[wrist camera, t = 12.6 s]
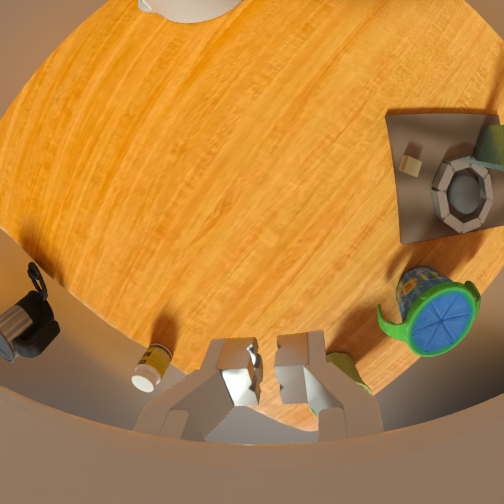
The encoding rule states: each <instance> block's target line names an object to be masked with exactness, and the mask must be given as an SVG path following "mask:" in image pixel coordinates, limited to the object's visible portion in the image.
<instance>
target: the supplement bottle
mask: <svg viewBox="0 0 504 504" xmlns="http://www.w3.org/2000/svg"><path fill="white" fill-rule="evenodd" d="M171 360H172V354H171V352H170V350H169V349H168V348H167V347H165V346H163V345H161V344H158V343H154V344H151V345H150V346H149V347H148V349H147V351H146V352H145V354H144V355H143V357H142V358H141V360H140V362H139V363H138V365H137V367H136V369H135V373H134V375H133V377H132V382H133V384H134V385H135V386H136V387H137V388H138V389H140V390H142V391H145V392H151V391H153V389H154V388H155V386H156V384H158V383H159V382H160V381H161V379H162V377H163V375H164V373H165V371H166V369H167V367H168V366H169V364H170V362H171Z"/></svg>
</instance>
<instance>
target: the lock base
mask: <svg viewBox="0 0 504 504" xmlns="http://www.w3.org/2000/svg"><path fill="white" fill-rule="evenodd" d="M385 119H386V124H387V130H388V135H389V141H390V147H391V153H392V159H393V166H394V174H395V182H396V191H397V201H398V213H399V227H400V242H401V243H402V244H408V243H414V242H419V241H425V240H430V239H436V238H441V237H446V236H452V235H457V234H462V233H459V232H457V231H455V230H454V229H453V228H451V227H450V226H448V225H447V224H446V223H444V222H443V221H441V220H440V219H438V216H436V212H435V206H434V201H433V196H432V192H431V190H432V189H435V188H433V187H432V184H433V182H434V180H435V177H436V175H437V173H438V171H439V168H440V166H441V164H442V163H445V162H444V161H445V160H448V159H451V158H455V157H458V156H461V155H467V156H472V155H473V153H474V150H475V147H476V144H477V142H478V139H479V136H480V133H481V130H482V127H483V125H500V121H499V115H484V114H458V113H430V114H402V115H387V116H385ZM485 168H486V169H487V170H488V174H490V178H491V185H492V191H493V199H492V200H491V201H492V202H493V203H492V206H491V208H490V210H489V212H488V215H487V217H486V219H485V221H484V223H483V224H482V223H481V226H480V227H478V228H476V229H473V230H471V231H468V232H472V231H478V230H483V229H488V228H493V227H498V226H503V225H504V171H501V170H496V169H492V168H487V167H485ZM446 196H447V201H448V207H449V213H450V214H451V215H453V216H454V217H455V218H457V219H458V220H459V219H462V218H465V217H467V216H470V215H472V214H473V212H474V210H475V209H476V208H477V206H478V204H479V201H480V188H479V184H478V179H477V176H476V175H475V174H474V173H472V172H471V171H470V170H469V169H468V168H465V169H461V170H458V171H455V172H454V174H453V176H452V179H451V181H450V183H449V185H448V188H447V190H446ZM466 233H467V232H466Z"/></svg>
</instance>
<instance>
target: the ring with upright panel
mask: <svg viewBox="0 0 504 504" xmlns="http://www.w3.org/2000/svg"><path fill="white" fill-rule="evenodd" d="M444 162H445V163H442V164H441V166H440V168H439V171H438V173H437V175H436V177H435V180H434V182H433V184H432V187H433V188H435V189H432V190H431V192H432V196H433V201H434V206H435V212H436V216H438V219H440V220H441V221H443V222H444V223H446V224H447V225H448V226H450V227H451V228H453V229H454V230H455V231H457V232H459V233H462V234H463V233H466V232H468V231H471V230H473V229H476V228H478V227H480V226H481V223H482V224H483V223H484V221H485V219H486V217H487V215H488V212H489V210H490V208H491V206H492V203H493V202H492V201H491V200H492V199H493V191H492V185H491V178H490V174H488V170H487V169H486V168H485V167H487V168H492V169H496V170H501V171H504V125H483V127H482V130H481V133H480V136H479V139H478V142H477V144H476V147H475V150H474V153H473V155H472V156H467V155H461V156H458V157H455V158H451V159H448V160H445V161H444ZM465 168H468V169H469V170H470V171H471V172H472V173H474V174H475V175H476V176H477V179H478V184H479V188H480V201H479V204H478V206H477V208H476V209H475V210H474V212H473V214H472V215H470V216H467V217H465V218H462V219H459V220H458V219H457V218H455V217H454V216H453V215H451V214H450V213H449V207H448V201H447V196H446V190H447V188H448V185H449V183H450V181H451V179H452V176H453V174H454V172H455V171H458V170H461V169H465Z"/></svg>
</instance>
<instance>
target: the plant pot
mask: <svg viewBox="0 0 504 504" xmlns="http://www.w3.org/2000/svg"><path fill="white" fill-rule="evenodd" d="M326 360H327V362H332V363H333V364H334V365H335V366H337V367H338V368H339V369H340V370H341V371H343V372H344V373H345V374H346V375H347V376H349V377H350V378H351V379H352V380H354V381H355V382H356V383H357V384H358V385H360V386H361V387H362V388H363V389H364V390H366V391H367V392H368V393H369V394H371V395H372V393H371V390H370V388H369V387H368V386H367V385H366V384H365V383H364V382H363V381H362V379H361V377H360V375H359V373H358V371H357V369H356V367H355V364H354V362H353V360H352V358H351V357H350V356H349V355H348V354H346V353H337V352H333V353H330V354H327V355H326ZM309 409H310V411H311V412H312V413H313V414H314V415H315V416H316V417H318V416H317V415H316V413H315V412H314V411H313V409H312V408H311V407H310V406H309Z"/></svg>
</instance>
